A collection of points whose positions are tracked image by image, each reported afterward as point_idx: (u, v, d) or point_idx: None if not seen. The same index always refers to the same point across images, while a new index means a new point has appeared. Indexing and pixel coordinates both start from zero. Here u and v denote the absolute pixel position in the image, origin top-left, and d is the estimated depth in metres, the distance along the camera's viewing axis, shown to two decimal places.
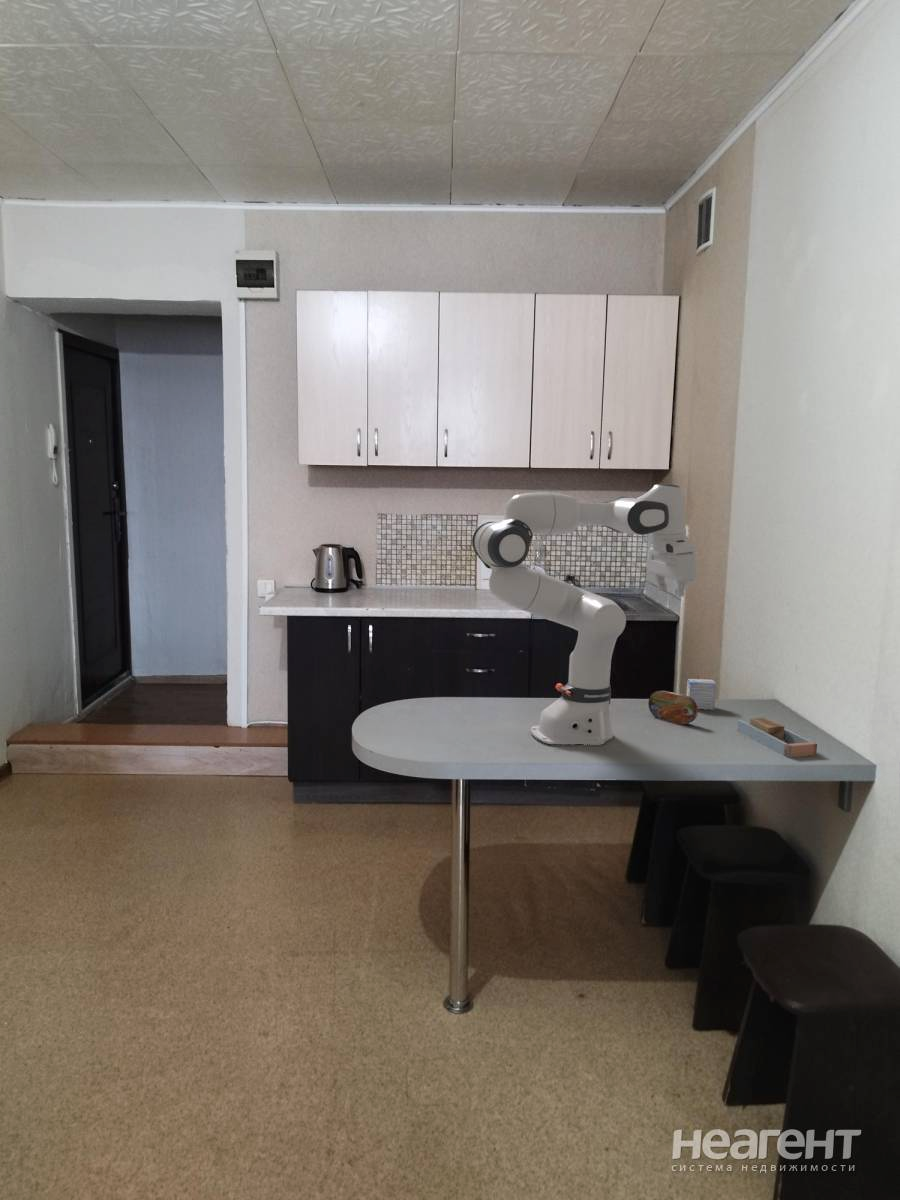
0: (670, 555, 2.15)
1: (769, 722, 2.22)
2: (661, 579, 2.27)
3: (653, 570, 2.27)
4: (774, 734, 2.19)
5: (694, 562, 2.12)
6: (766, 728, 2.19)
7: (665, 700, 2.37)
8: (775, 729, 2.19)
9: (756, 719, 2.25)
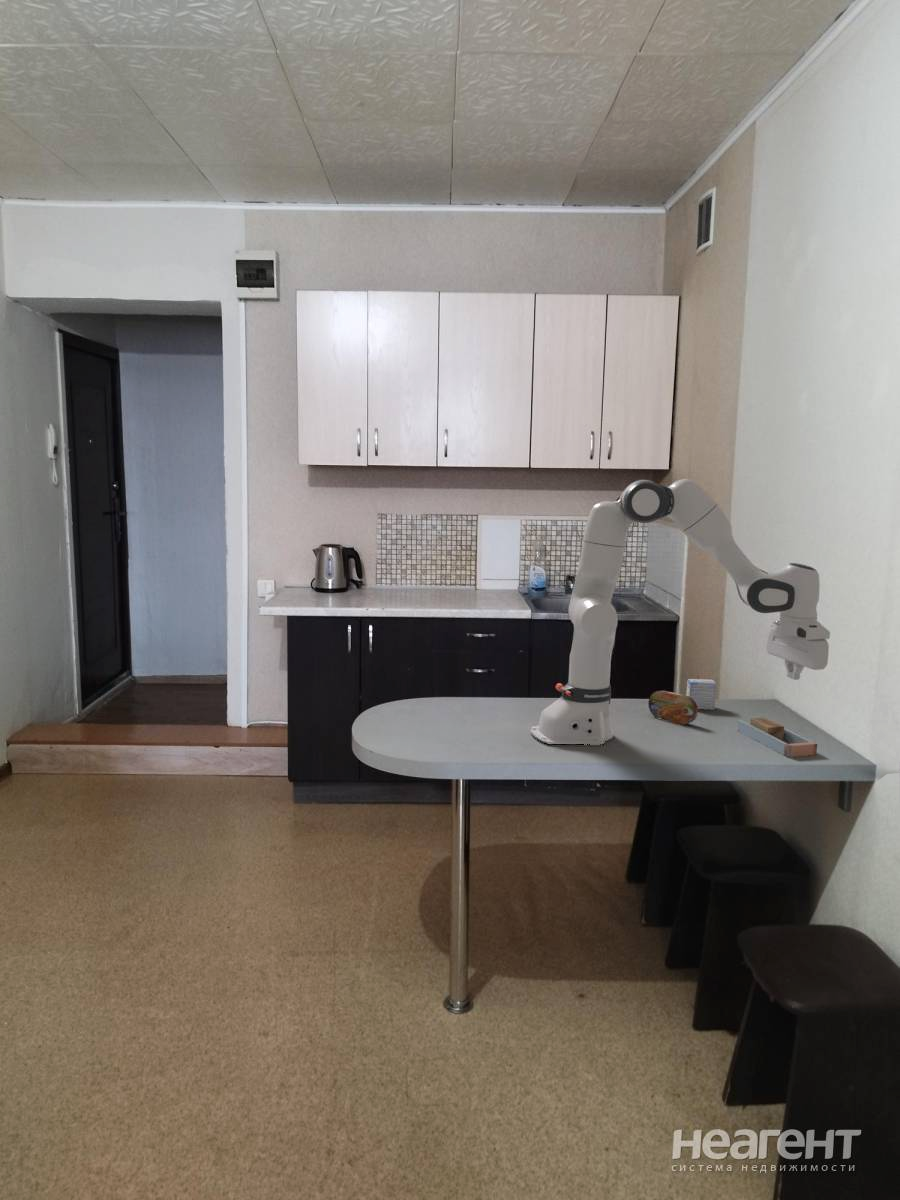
0: (801, 640, 2.04)
1: (769, 722, 2.22)
2: (790, 664, 2.13)
3: (773, 651, 2.16)
4: (774, 734, 2.19)
5: (827, 650, 2.01)
6: (766, 728, 2.19)
7: (665, 700, 2.37)
8: (775, 729, 2.19)
9: (756, 719, 2.25)
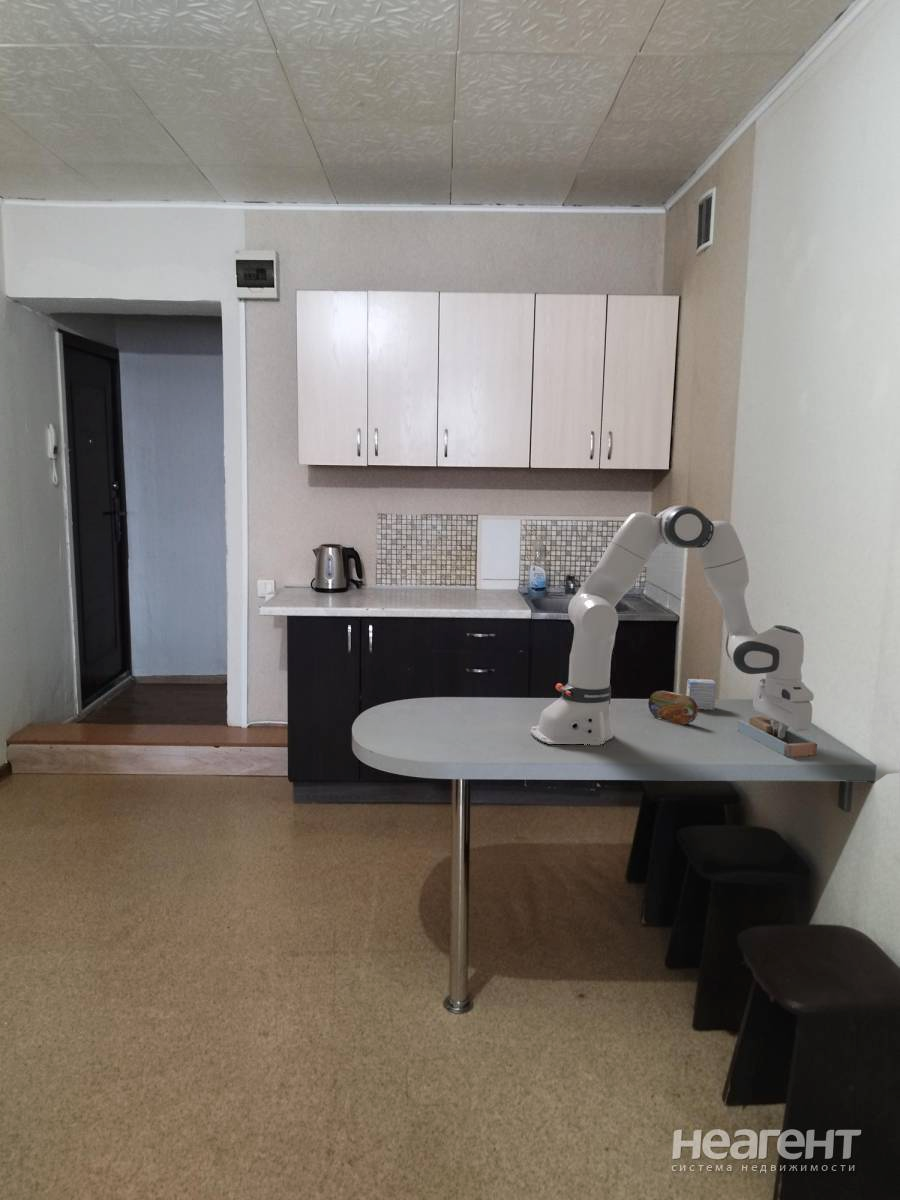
0: (785, 701, 2.10)
1: (768, 721, 2.23)
2: (776, 723, 2.19)
3: (759, 708, 2.23)
4: None
5: (810, 712, 2.08)
6: (765, 727, 2.19)
7: (665, 700, 2.37)
8: None
9: (755, 718, 2.26)
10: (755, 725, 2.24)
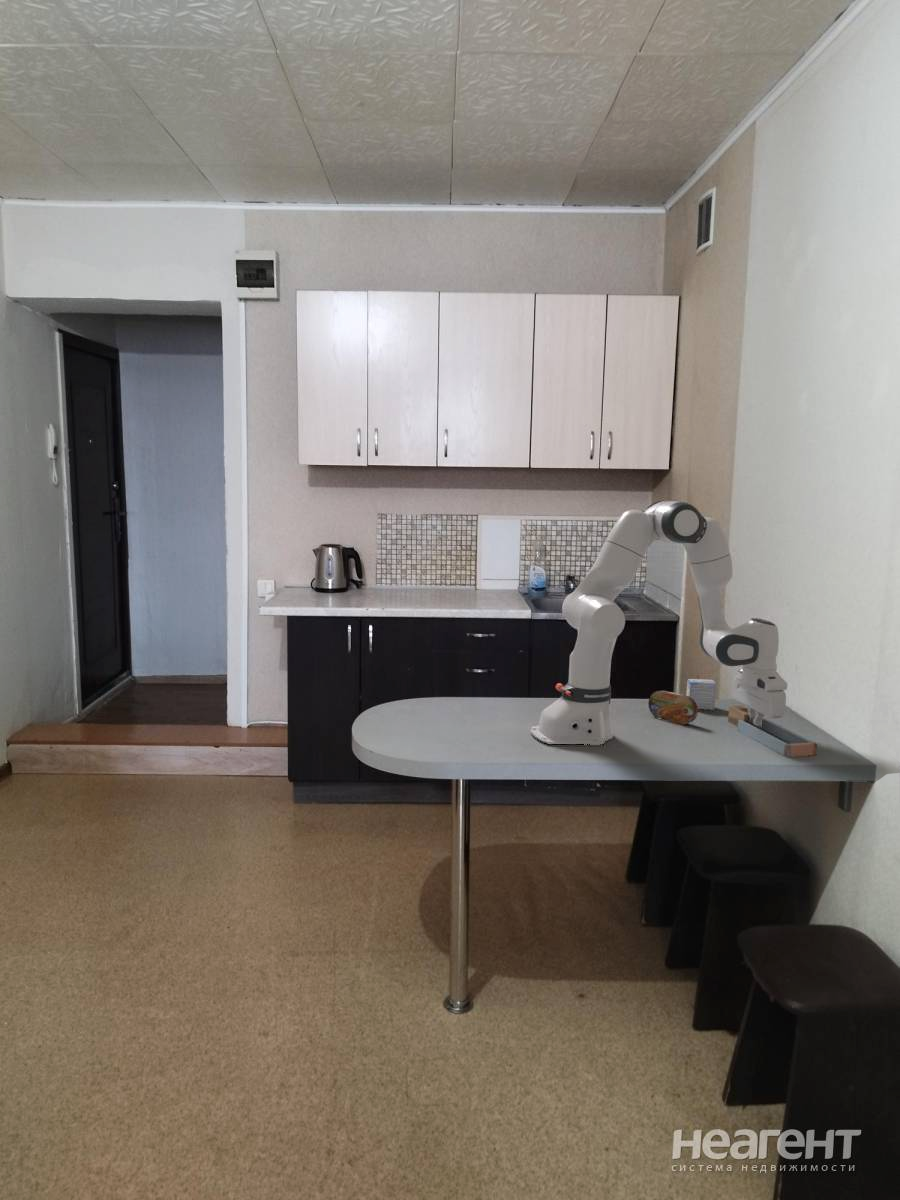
0: (760, 690, 2.20)
1: (746, 710, 2.33)
2: (752, 711, 2.29)
3: (737, 697, 2.33)
4: None
5: (784, 700, 2.18)
6: (743, 715, 2.30)
7: (665, 700, 2.37)
8: None
9: (734, 707, 2.36)
10: (734, 713, 2.34)
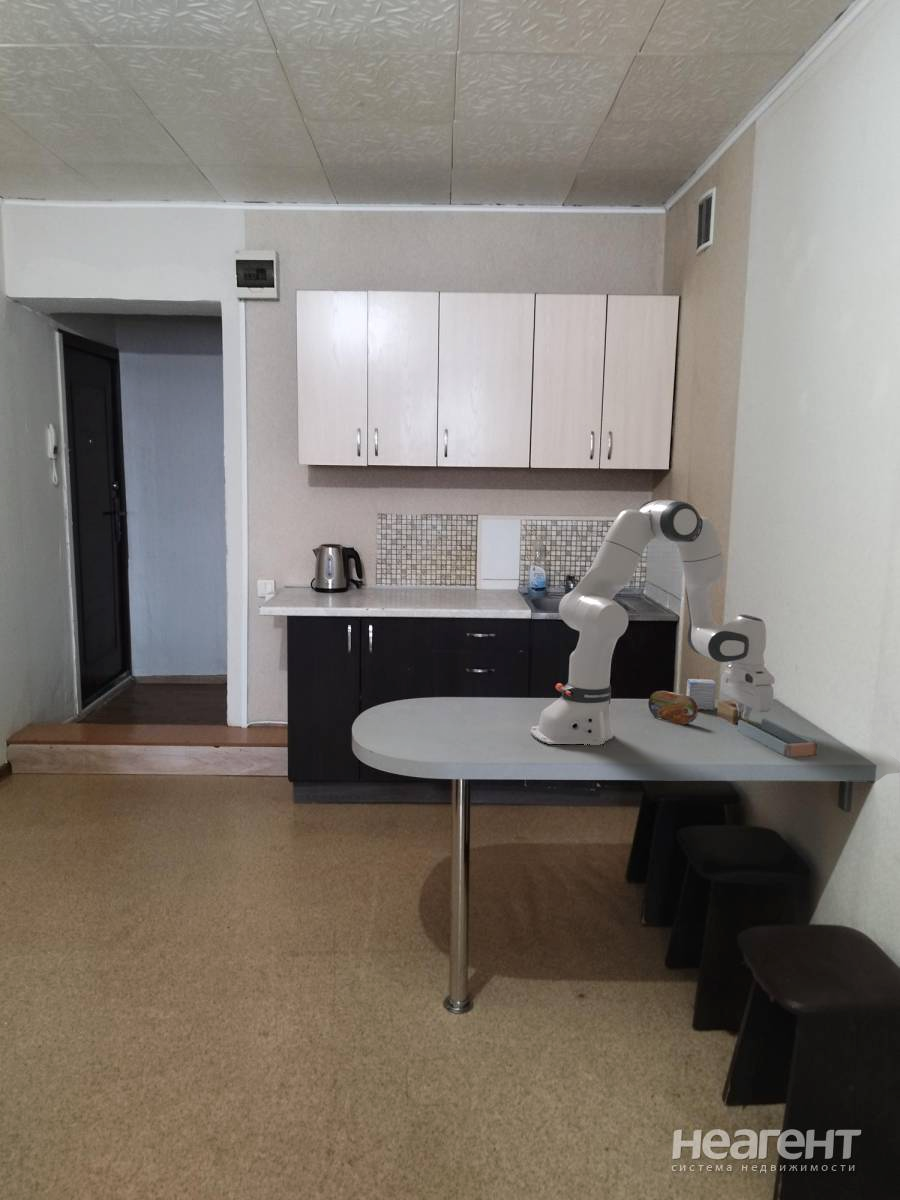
0: (748, 684, 2.26)
1: (735, 705, 2.38)
2: (741, 705, 2.35)
3: (726, 692, 2.38)
4: None
5: (772, 694, 2.23)
6: (732, 710, 2.35)
7: (665, 700, 2.37)
8: None
9: (723, 702, 2.41)
10: (723, 709, 2.39)
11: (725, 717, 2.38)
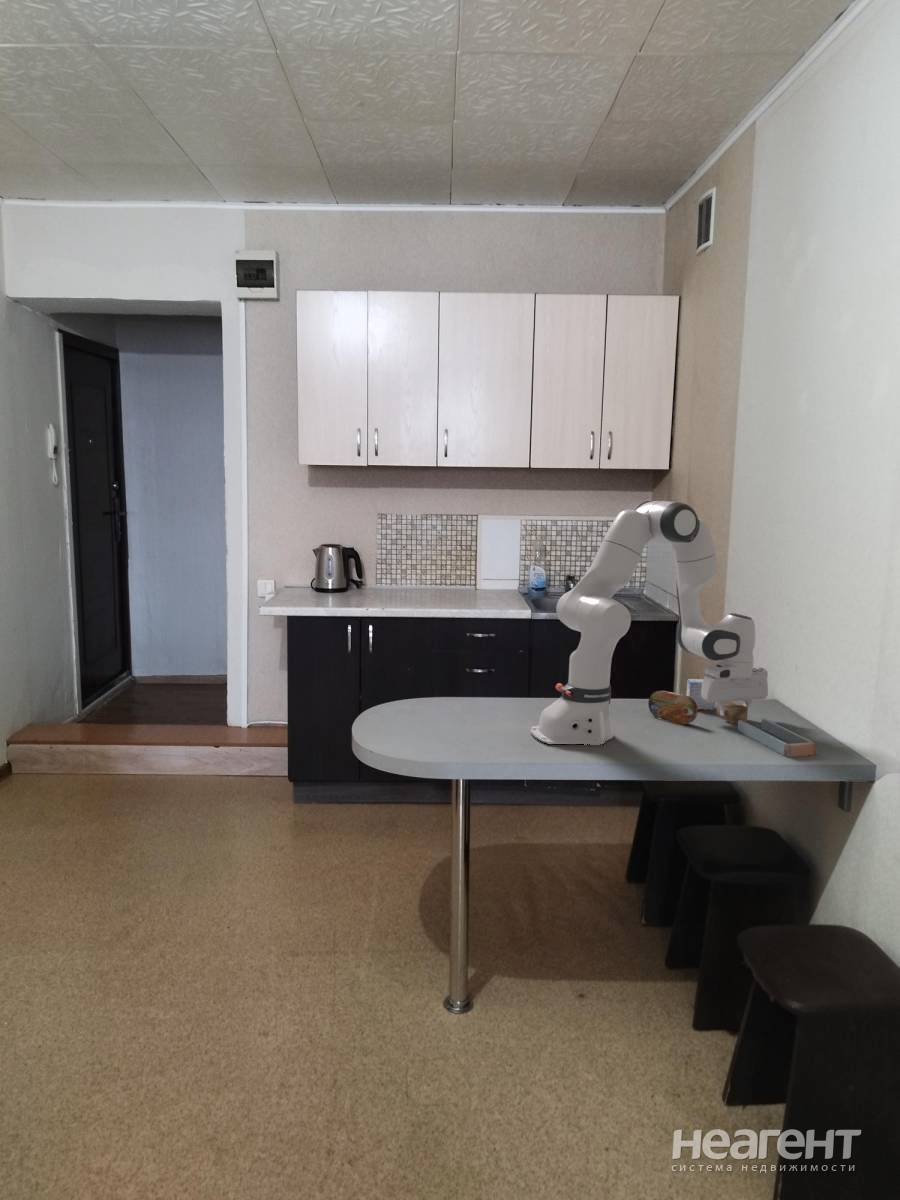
0: None
1: (734, 704, 2.38)
2: (746, 703, 2.39)
3: None
4: (738, 714, 2.35)
5: (709, 686, 2.33)
6: (731, 710, 2.35)
7: (665, 700, 2.37)
8: (739, 710, 2.35)
9: None
10: None
11: (724, 716, 2.38)
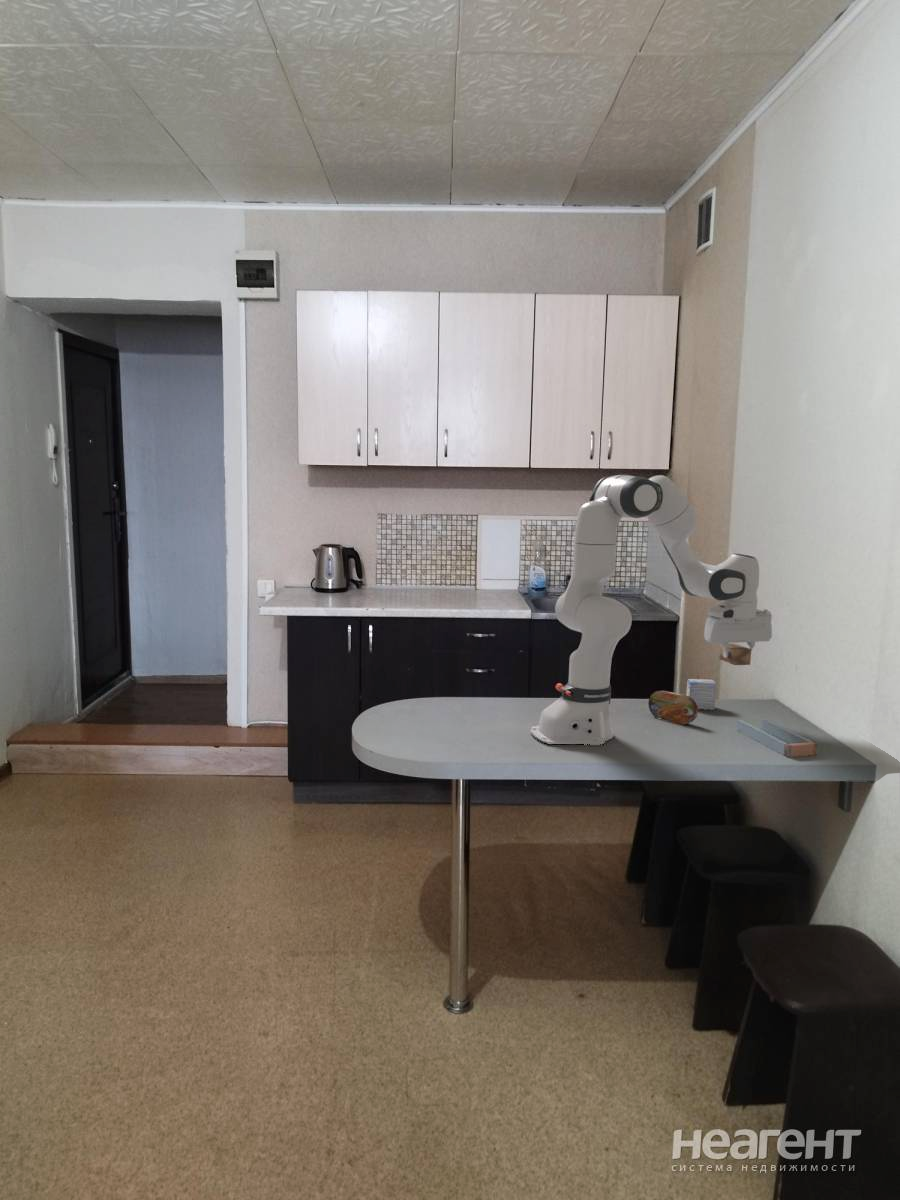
0: None
1: (738, 647, 2.35)
2: (750, 645, 2.36)
3: None
4: (742, 656, 2.32)
5: (712, 626, 2.30)
6: (734, 651, 2.32)
7: (665, 700, 2.37)
8: (743, 651, 2.32)
9: None
10: None
11: (727, 659, 2.35)
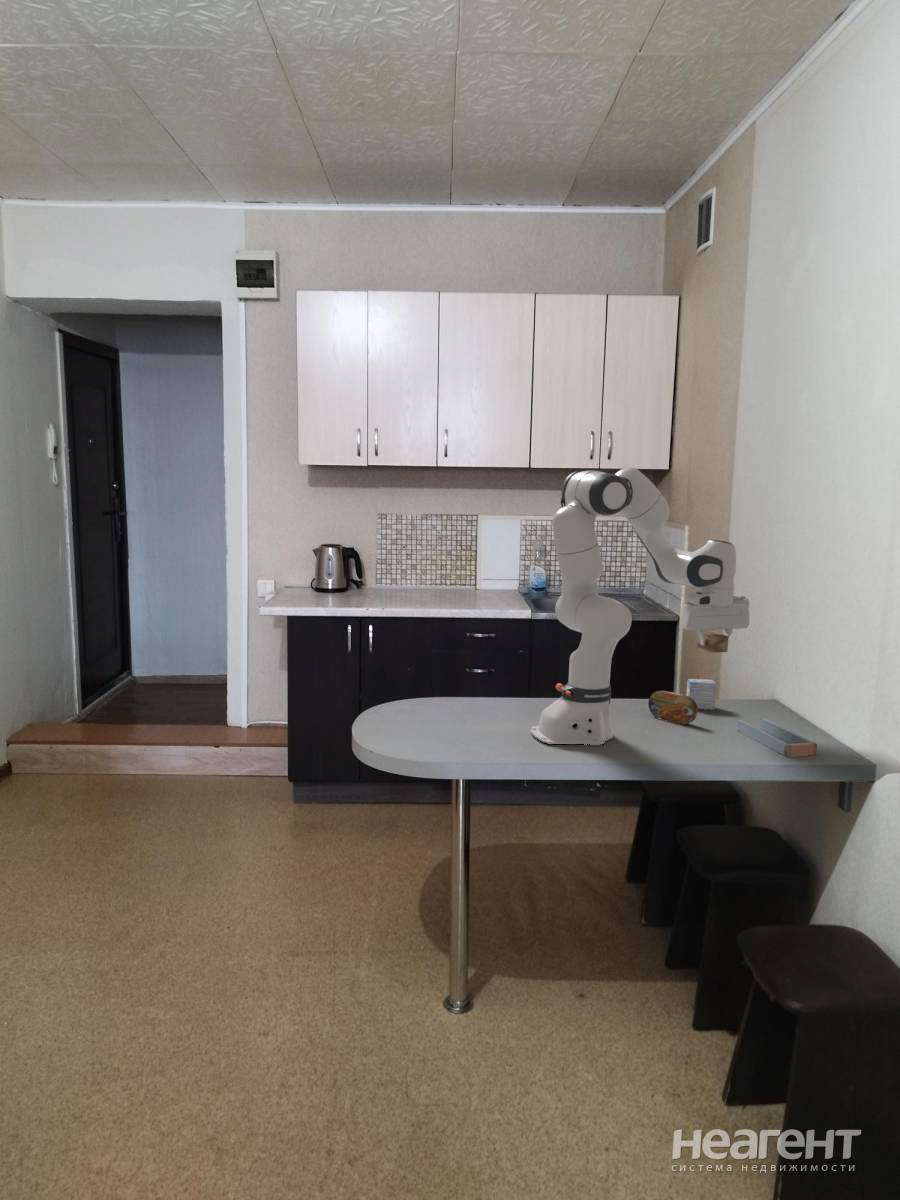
0: None
1: (715, 634, 2.33)
2: (727, 632, 2.33)
3: None
4: (719, 643, 2.30)
5: (688, 613, 2.28)
6: (711, 638, 2.30)
7: (665, 700, 2.37)
8: (720, 638, 2.30)
9: None
10: None
11: (705, 646, 2.33)
